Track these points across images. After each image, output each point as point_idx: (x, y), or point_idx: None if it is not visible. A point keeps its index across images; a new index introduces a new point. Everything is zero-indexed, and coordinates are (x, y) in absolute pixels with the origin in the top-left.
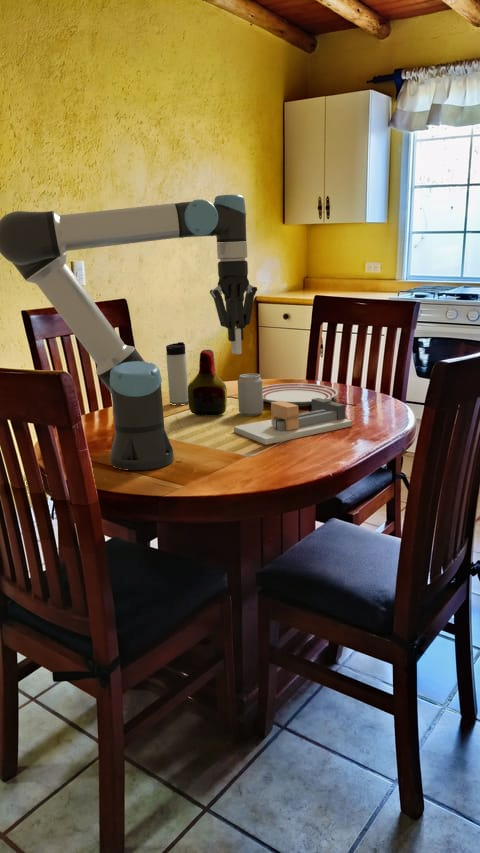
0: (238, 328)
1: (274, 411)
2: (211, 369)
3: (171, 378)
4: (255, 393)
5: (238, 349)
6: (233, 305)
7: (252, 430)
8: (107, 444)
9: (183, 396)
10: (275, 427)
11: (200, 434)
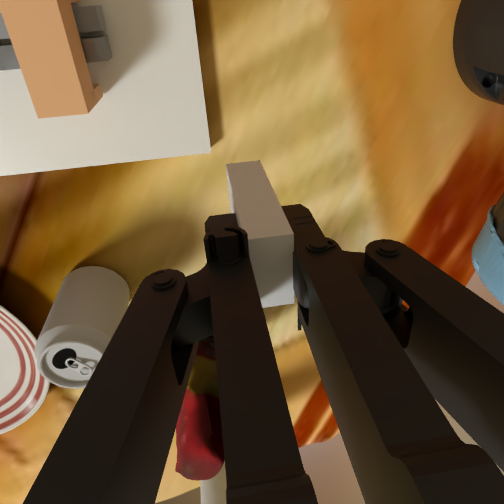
0: (255, 256)
1: (87, 84)
2: (195, 404)
3: None
4: (79, 300)
5: (251, 171)
6: (385, 408)
7: (180, 78)
8: (489, 208)
9: None
10: (107, 40)
11: (293, 174)
